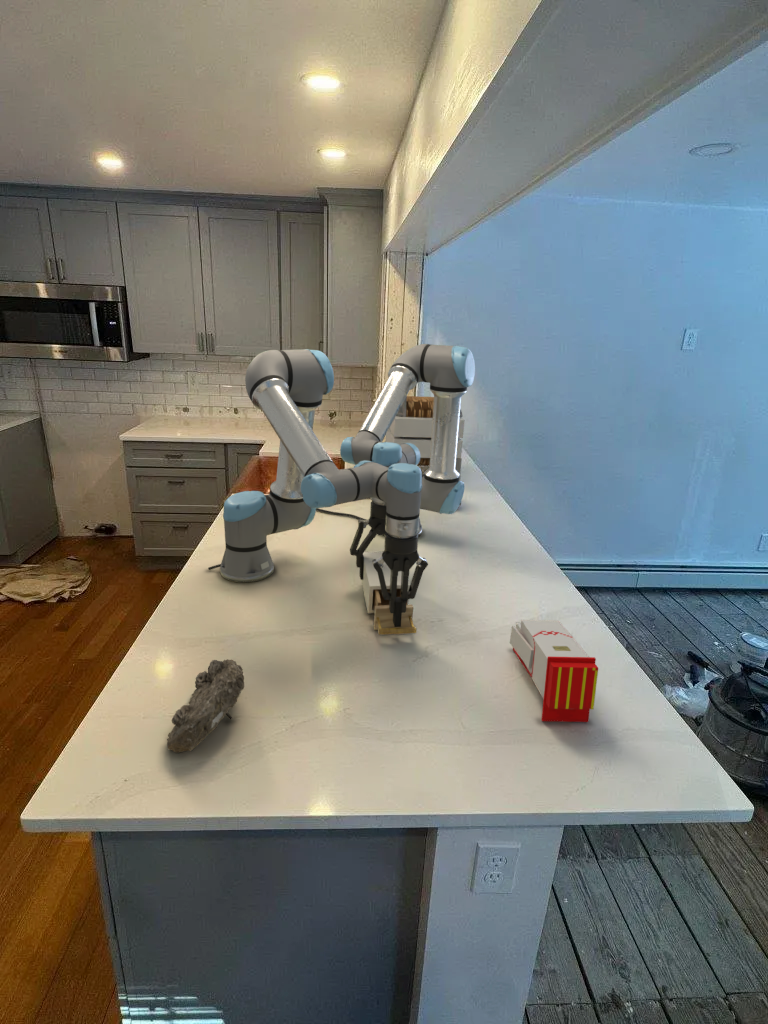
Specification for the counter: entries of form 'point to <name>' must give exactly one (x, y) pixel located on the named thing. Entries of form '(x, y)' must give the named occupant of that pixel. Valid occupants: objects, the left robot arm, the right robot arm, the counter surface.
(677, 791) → the counter surface
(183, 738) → the fossil
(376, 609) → the drawer
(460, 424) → the white slatted crate
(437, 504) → the right robot arm
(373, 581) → the cabinet
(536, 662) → the toy
